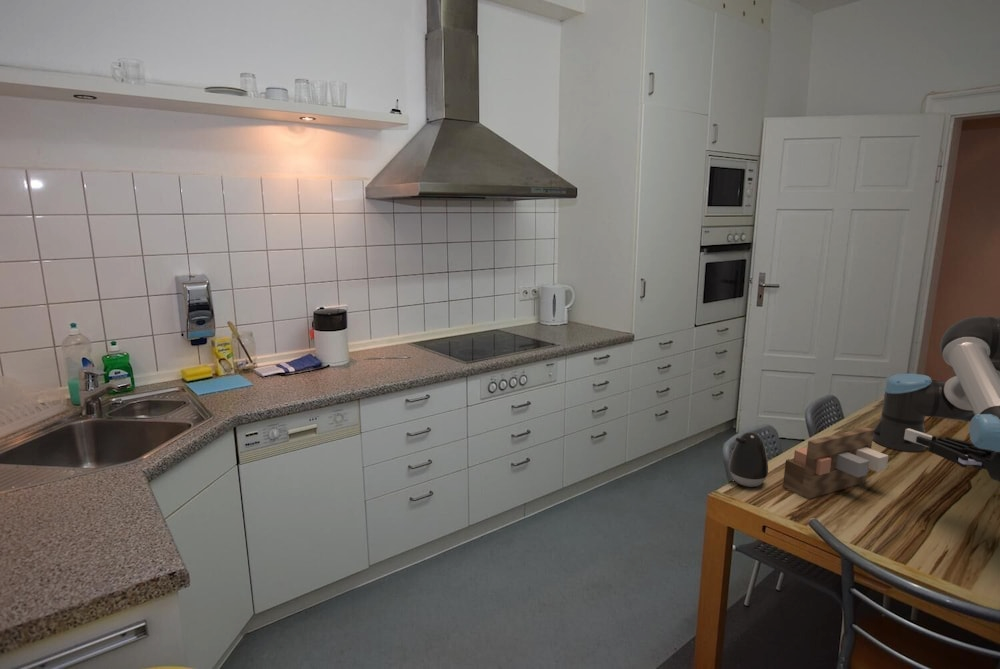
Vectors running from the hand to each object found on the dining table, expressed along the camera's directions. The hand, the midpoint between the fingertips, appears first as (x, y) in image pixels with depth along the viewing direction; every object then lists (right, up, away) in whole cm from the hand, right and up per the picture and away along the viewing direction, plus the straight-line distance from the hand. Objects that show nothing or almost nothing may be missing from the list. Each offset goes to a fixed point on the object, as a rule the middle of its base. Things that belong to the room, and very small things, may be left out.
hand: (906, 433), depth 147 cm
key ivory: (-3, -10, +10) cm, 15 cm away
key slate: (-11, -11, +7) cm, 17 cm away
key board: (-13, -17, +14) cm, 26 cm away
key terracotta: (-20, -11, +8) cm, 24 cm away
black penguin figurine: (-35, -17, +15) cm, 42 cm away
